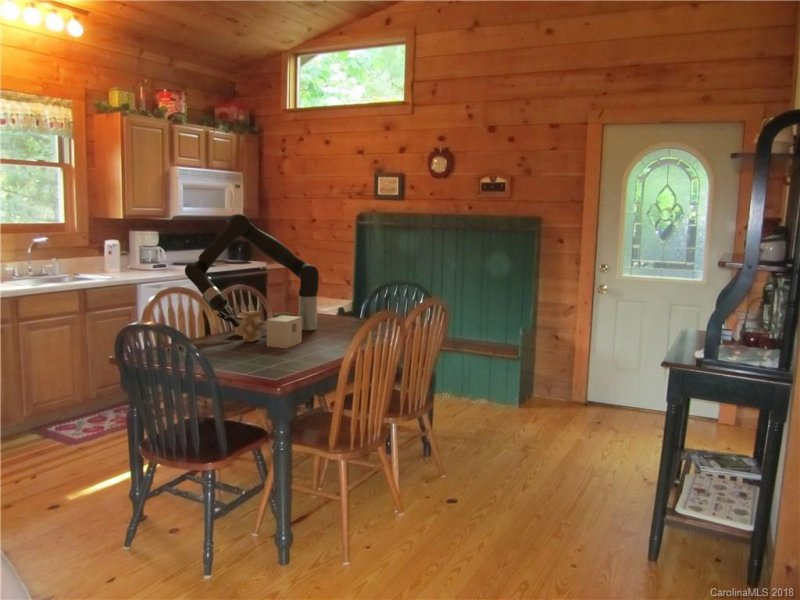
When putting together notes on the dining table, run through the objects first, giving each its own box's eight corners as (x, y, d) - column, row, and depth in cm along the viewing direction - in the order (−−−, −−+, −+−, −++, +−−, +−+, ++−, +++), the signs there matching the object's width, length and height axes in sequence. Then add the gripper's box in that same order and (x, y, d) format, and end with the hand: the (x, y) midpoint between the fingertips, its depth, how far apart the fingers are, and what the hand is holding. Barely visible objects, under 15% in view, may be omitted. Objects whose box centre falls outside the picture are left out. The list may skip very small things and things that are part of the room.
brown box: (243, 341, 301) (242, 313, 299) (252, 337, 308) (252, 310, 306) (272, 344, 296) (272, 315, 294) (281, 340, 303) (281, 313, 301)
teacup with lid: (251, 336, 314) (251, 312, 312) (232, 336, 313) (232, 312, 312) (256, 331, 326) (255, 308, 324) (237, 331, 325) (237, 308, 324)
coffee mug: (296, 332, 327) (296, 312, 325) (291, 336, 317) (291, 315, 316) (270, 331, 328) (270, 311, 327) (264, 335, 318) (264, 314, 317)
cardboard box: (266, 346, 293) (266, 319, 292) (282, 340, 306) (282, 315, 305) (286, 348, 290) (286, 321, 288) (301, 342, 303) (301, 317, 301)
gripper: (211, 294, 300) (234, 323, 298) (228, 291, 313) (250, 318, 310) (201, 305, 303) (224, 333, 301) (218, 301, 315) (241, 328, 313)
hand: (237, 325), depth 306 cm, fingers closed
